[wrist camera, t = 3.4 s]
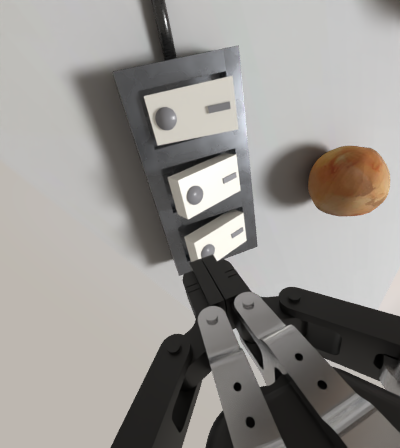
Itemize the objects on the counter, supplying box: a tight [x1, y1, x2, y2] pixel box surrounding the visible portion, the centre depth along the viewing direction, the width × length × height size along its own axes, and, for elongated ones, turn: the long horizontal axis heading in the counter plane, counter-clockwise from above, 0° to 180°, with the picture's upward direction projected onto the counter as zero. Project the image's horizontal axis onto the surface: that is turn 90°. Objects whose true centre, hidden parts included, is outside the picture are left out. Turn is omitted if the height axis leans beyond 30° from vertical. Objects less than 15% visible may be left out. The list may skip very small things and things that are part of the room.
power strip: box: [113, 0, 257, 276], centre depth 27 cm, size 12×33×4 cm, turn 12°
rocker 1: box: [144, 76, 238, 145], centre depth 23 cm, size 8×4×2 cm, turn 102°
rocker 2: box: [184, 209, 247, 262], centre depth 30 cm, size 8×4×2 cm, turn 101°
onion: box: [308, 146, 390, 216], centre depth 33 cm, size 10×10×10 cm
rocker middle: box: [167, 153, 241, 219], centre depth 27 cm, size 8×4×2 cm, turn 101°
